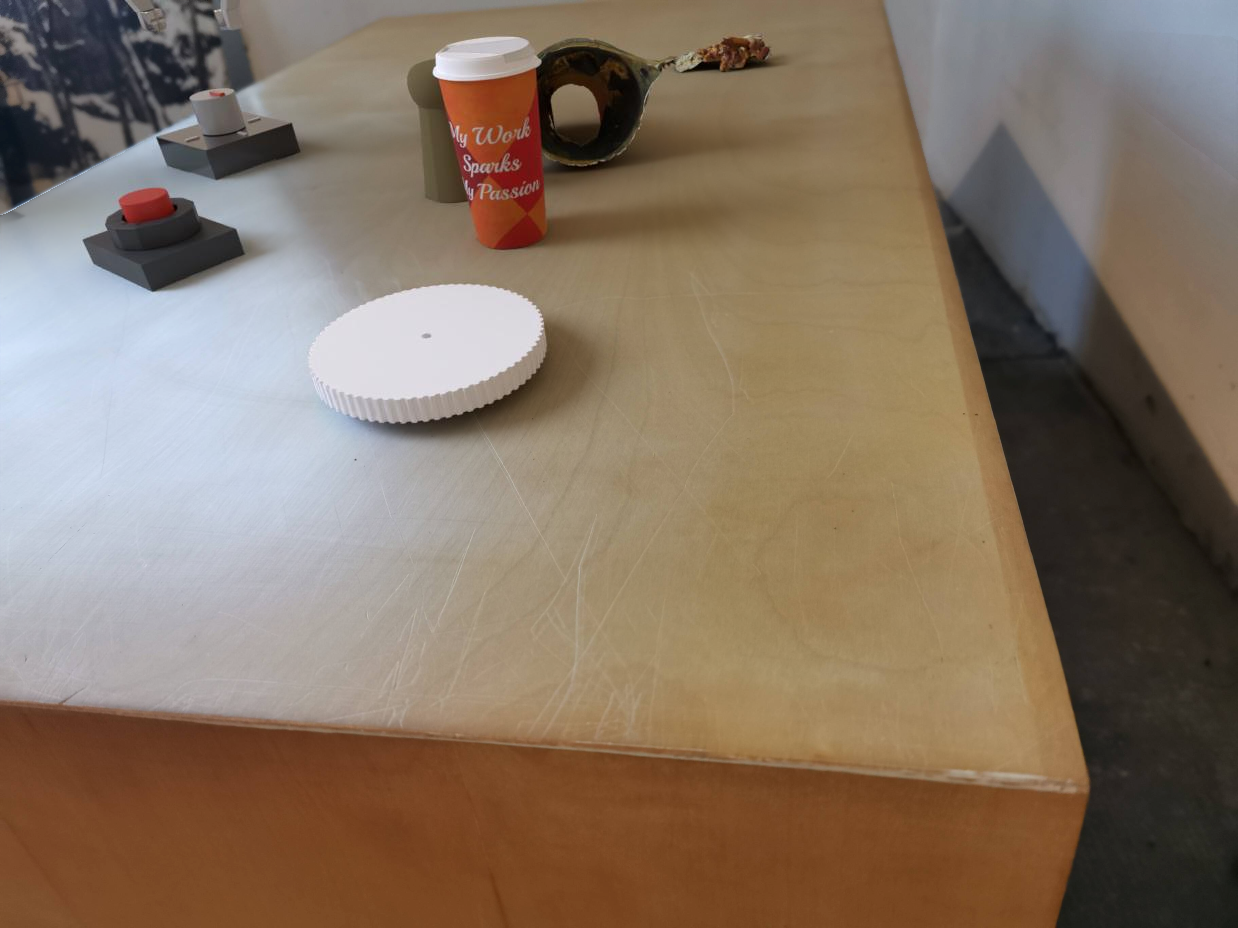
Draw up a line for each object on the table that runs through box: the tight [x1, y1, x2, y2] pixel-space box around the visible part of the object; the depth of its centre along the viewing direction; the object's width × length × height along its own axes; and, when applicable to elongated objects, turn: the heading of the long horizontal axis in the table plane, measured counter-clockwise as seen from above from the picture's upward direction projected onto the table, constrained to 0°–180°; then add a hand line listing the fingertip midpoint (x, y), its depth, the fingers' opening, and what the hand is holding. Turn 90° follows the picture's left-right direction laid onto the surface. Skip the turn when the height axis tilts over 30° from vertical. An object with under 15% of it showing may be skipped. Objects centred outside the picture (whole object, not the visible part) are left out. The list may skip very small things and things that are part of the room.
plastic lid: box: [306, 283, 548, 424], centre depth 52 cm, size 14×14×2 cm
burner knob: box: [189, 87, 245, 135], centre depth 89 cm, size 4×4×4 cm
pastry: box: [674, 34, 772, 73], centre depth 108 cm, size 7×12×4 cm, turn 98°
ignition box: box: [81, 197, 246, 293], centre depth 69 cm, size 10×8×4 cm
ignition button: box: [118, 187, 175, 223], centre depth 68 cm, size 4×4×2 cm
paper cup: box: [433, 36, 547, 250], centre depth 65 cm, size 8×8×14 cm
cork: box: [406, 58, 468, 204], centre depth 76 cm, size 6×6×11 cm
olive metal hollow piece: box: [536, 37, 679, 167], centre depth 84 cm, size 17×11×18 cm
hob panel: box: [155, 111, 301, 181], centre depth 91 cm, size 10×10×3 cm
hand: (193, 30), depth 84 cm, fingers open, 8 cm apart
